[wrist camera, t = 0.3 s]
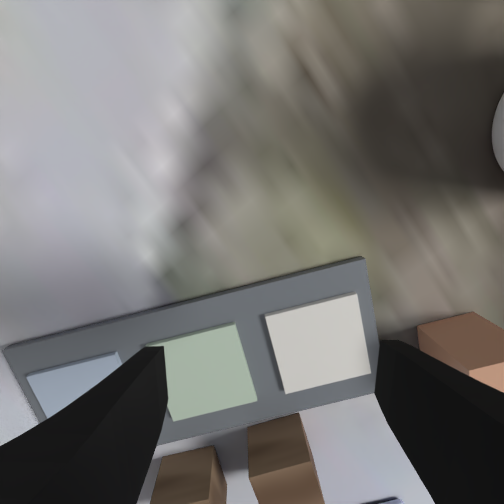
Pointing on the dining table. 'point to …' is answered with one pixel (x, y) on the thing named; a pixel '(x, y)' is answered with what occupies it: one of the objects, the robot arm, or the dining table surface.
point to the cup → (499, 133)
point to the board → (225, 351)
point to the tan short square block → (467, 346)
